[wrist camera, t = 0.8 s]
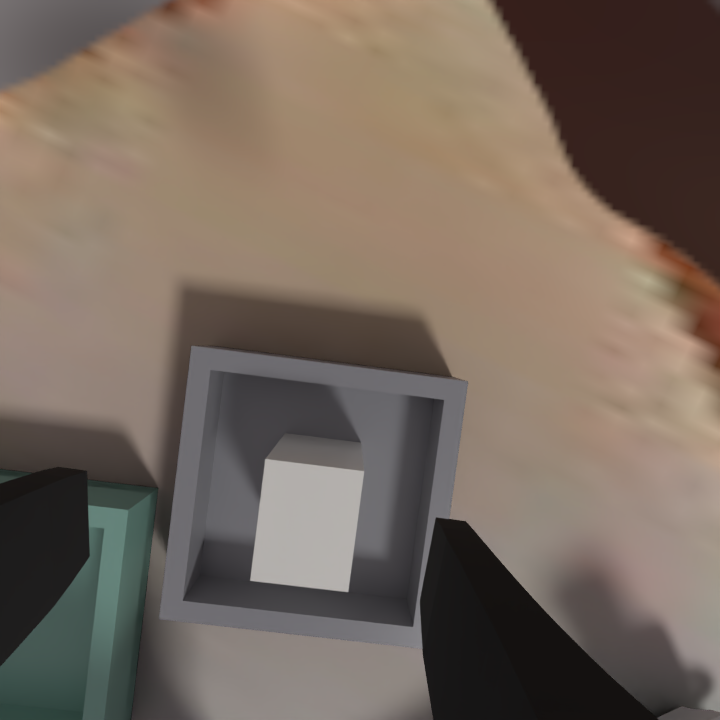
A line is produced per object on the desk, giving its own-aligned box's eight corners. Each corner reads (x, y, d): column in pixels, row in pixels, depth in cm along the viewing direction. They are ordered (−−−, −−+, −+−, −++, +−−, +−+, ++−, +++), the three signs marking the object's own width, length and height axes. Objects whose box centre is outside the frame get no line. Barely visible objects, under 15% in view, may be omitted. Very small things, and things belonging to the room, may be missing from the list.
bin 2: (420, 610, 23) (430, 649, 20) (184, 583, 23) (158, 619, 20) (452, 376, 23) (468, 381, 20) (213, 345, 22) (191, 345, 19)
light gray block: (348, 536, 22) (348, 592, 17) (273, 527, 22) (250, 580, 17) (361, 442, 22) (364, 471, 17) (285, 433, 22) (265, 458, 17)
